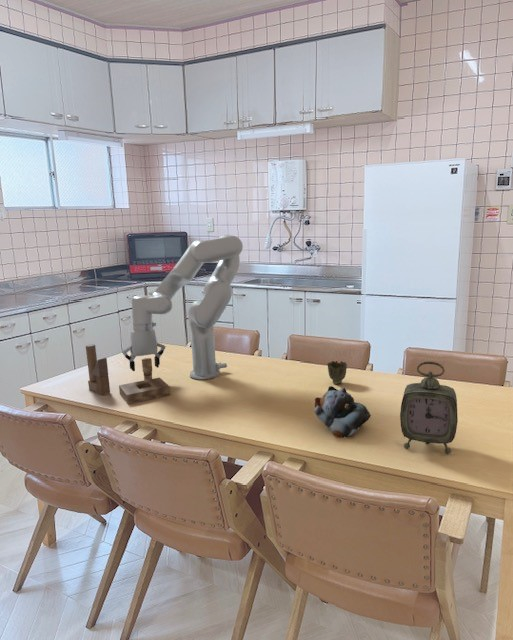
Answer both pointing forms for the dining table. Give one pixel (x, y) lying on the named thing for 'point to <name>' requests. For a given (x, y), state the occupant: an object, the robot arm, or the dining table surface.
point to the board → (144, 390)
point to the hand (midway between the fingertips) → (145, 368)
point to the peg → (147, 368)
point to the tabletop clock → (429, 411)
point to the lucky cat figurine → (340, 412)
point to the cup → (337, 371)
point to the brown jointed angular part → (97, 371)
